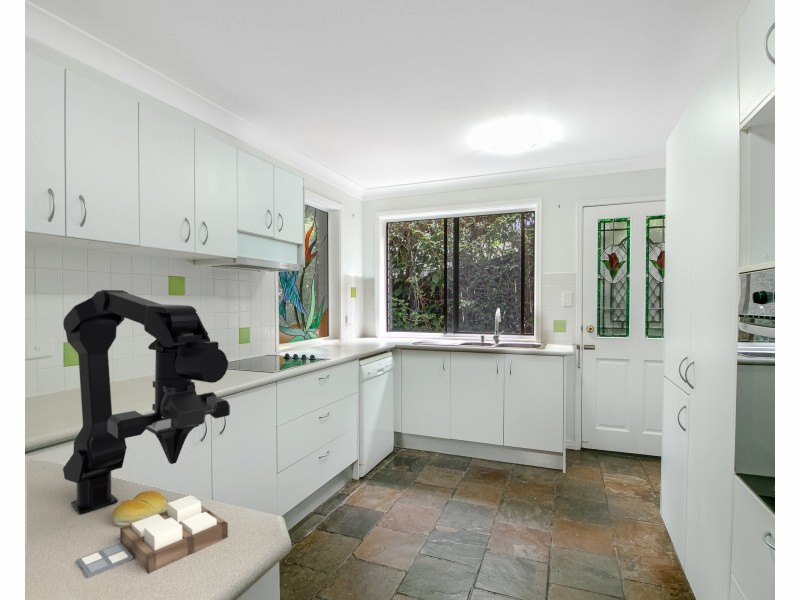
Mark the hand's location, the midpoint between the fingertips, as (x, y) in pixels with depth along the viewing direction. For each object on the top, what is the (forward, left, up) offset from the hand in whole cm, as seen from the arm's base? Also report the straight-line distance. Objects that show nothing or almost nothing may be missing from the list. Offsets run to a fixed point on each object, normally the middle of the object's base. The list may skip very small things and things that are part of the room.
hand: (172, 463), depth 76 cm
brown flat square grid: (+3, -1, -12) cm, 13 cm away
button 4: (+6, +2, -12) cm, 14 cm away
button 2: (+6, -4, -11) cm, 13 cm away
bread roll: (-11, -1, -13) cm, 17 cm away
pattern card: (0, -10, -12) cm, 16 cm away
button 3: (0, +2, -11) cm, 11 cm away
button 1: (0, -4, -12) cm, 13 cm away
